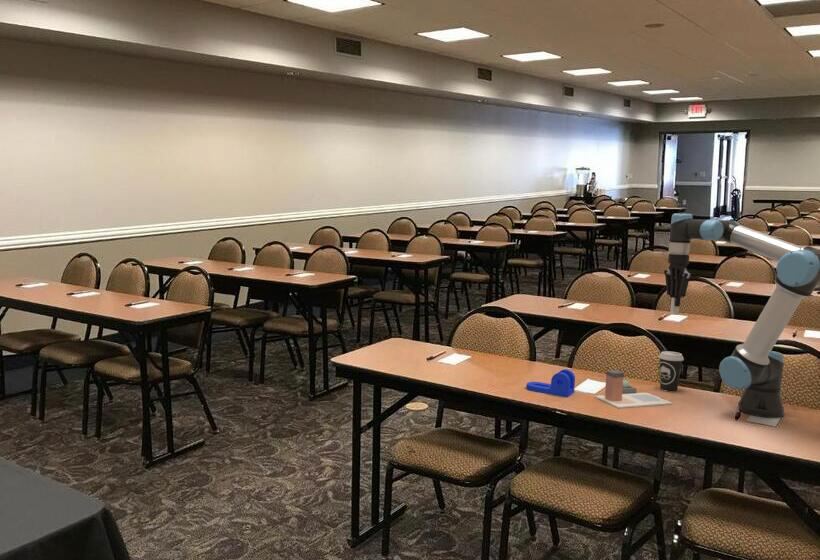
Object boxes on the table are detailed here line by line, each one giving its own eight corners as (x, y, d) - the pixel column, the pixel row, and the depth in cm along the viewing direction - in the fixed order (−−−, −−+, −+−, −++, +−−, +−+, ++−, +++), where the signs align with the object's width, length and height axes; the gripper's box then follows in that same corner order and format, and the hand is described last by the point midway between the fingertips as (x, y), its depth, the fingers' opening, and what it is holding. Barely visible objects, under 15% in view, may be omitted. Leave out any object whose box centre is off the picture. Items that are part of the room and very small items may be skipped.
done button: (630, 391, 273) (631, 381, 273) (622, 392, 272) (622, 382, 272) (624, 389, 277) (625, 379, 277) (616, 389, 276) (616, 379, 275)
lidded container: (622, 400, 260) (624, 372, 259) (611, 401, 258) (613, 373, 257) (614, 397, 264) (616, 370, 263) (604, 397, 263) (606, 370, 262)
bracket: (574, 393, 272) (575, 370, 271) (567, 397, 265) (569, 374, 264) (530, 385, 281) (531, 364, 280) (523, 390, 273) (524, 367, 272)
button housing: (636, 394, 273) (636, 388, 272) (621, 395, 270) (621, 389, 270) (625, 389, 279) (625, 383, 279) (610, 390, 277) (610, 384, 277)
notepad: (672, 404, 260) (672, 402, 259) (618, 408, 252) (618, 406, 252) (646, 393, 274) (646, 392, 274) (594, 397, 266) (594, 395, 266)
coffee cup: (683, 393, 276) (686, 356, 275) (658, 391, 278) (661, 354, 277) (679, 387, 286) (681, 351, 284) (654, 385, 288) (657, 350, 286)
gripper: (699, 255, 261) (694, 316, 264) (675, 252, 274) (670, 311, 276) (682, 254, 259) (677, 317, 261) (659, 252, 271) (655, 311, 274)
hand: (674, 314), depth 269 cm, fingers closed
